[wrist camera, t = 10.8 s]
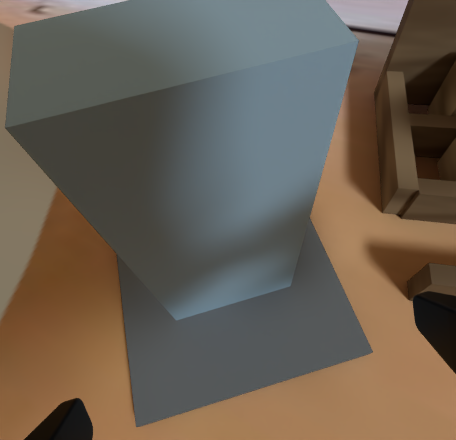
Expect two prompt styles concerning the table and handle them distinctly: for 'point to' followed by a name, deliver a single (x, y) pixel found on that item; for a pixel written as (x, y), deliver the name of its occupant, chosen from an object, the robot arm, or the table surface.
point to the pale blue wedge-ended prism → (187, 133)
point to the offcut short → (445, 96)
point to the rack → (418, 126)
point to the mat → (237, 339)
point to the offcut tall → (448, 163)
